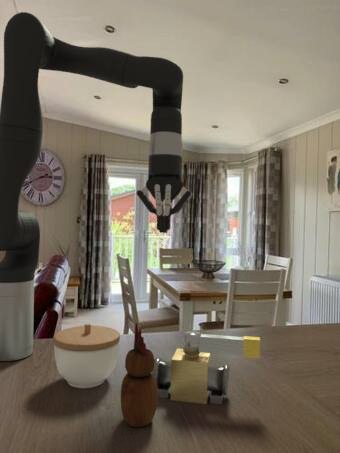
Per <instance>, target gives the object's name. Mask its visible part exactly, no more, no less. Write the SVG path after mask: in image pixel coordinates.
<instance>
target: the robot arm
mask: <svg viewBox="0 0 340 453" xmlns="http://www.w3.org/2000/svg"><path fill="white" fill-rule="evenodd" d="M40 70H44V71H45V70H46V71H55V72H56V71H57V72H62V73H70V74H76V75H80V76H85V77H88V78H93V79H97V80H99V81H103V82H107V83H111V84H113V85H117V86H121V87H124V88H129V89H136V88H138V87H143V88H149V89H152V112H151V115H150V134H149V135H150V136H149V141H148V142H149V143H148V169H147V170H148V173H147V180H146V182H145V186H144V187H143V188H141V189H139V190H137V191H136V196H138V198H139V200H141V202H142V204H143V205H144V206H145V207H146V209H147V210H148V212H149V213H151V214H154V215H156V229H157V231H158V232H159V233H161V234H163V233H164V234H166V233H168V231H170V230H171V219H172V217H171V216H173V215H175V214H179V212H180V211H181V210H182V209H183V207H184V206H186V204H187V202H189V200H190V199H191V197H192V196H193V192H192V191H190V190H188V189H187V188H186V187H185V185H184V182H183V179H182V176H183V174H182V173H183V156H184V155H183V154H184V150H183V137H182V136H183V135H182V131H183V117H182V104H183V102H182V101H183V87H184V86H183V84H184V73H183V70H182V67H180V65H179V64H178V63H177V62H175V61H173V60H171V59H169V58H165V57H159V56H158V57H156V56H147V55H145V56H142V55H135V54H131V53H128V52H125V51H122V50H118V49H114V48H111V47H110V48H108V47H102V46H101V47H100V46H99V47H98V46H97V47H96V46H92V47H91V46H90V47H88V46H79V45H74V44H71V43H67V42H65V41H63V40H60V39H58V38H57V37H55V36H53V35H52V34H51V32H50V31H49V30H48V28H47V27H46V26H45V24H44V23H43V22H42V21H41V20H40V19H39V18H38V17H37V16H36V15H34V14H32V13H31V12H26V11H25V12H24V11H23V12H17V13H16V14H14V15H13V16H11V17H10V19H9V20H8V22H7V23H6V26H5V28H4V32H3V83H2V84H3V85H2V92H1V98H0V100H1V101H0V252H4V253H5V254H4V257H3V259H2V260H1V261H0V362H10V361H17V360H21V359H25V358H28V357H30V356H31V355H33V351H34V348H33V347H34V314H35V311H34V306H35V305H34V304H35V303H34V302H35V273H36V269H37V268H38V266H39V255H40V244H41V228H40V223H39V220H38V219H37V217H36V216H35V214H34V213H32V212H30V211H29V210H21V209H19V205H20V204H19V203H20V196H21V191H22V189H23V185H24V184H25V182H26V180H27V178H28V177H29V175H30V173H31V172H32V171H33V169H34V167H35V165H36V164H37V162H38V161H39V157H40V154H41V149H42V148H41V147H42V142H43V130H44V126H43V125H44V124H43V113H42V106H41V100H40V92H39V73H40ZM179 194H180V197H181V198H180V199H179V200H178V201H177V203H175V205H174V206H173V204H174V200H176V198H177V197H178V195H179ZM150 195H151V196H152V198H153V199H154V201H155V205H154V204H153V202H152V201H151V200H150V198H149V196H150Z"/></svg>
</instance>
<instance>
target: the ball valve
mask: <svg viewBox="0 0 340 453" xmlns="http://www.w3.org/2000/svg"><path fill="white" fill-rule="evenodd" d="M211 355H212V353H203V352H201V353H199V354H195V355H190V354H186V353H184V352H183V348H176V350H175V353H174V354H173V356H172V357H171V360H164V359H163V358H162V357H154V359H155V364H154V369H153V371H152V372H151V373H152V374H153V375H154V377H155V379H156V382H157V398H163V399H165V398H166V399H168V398H169V397H170V401H177V402H183V403H184V402H185V403H192V404H203V405H207V404H208V399H209V394H210V404H216V405H223V399H224V398H223V397H224V396H227V397H228V396H229V393H230V391H229V389H230V364H225V363H224V364H223V365H214V364H213V365H212V364H211V360H212V358H211Z"/></svg>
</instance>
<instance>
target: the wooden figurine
mask: <svg viewBox="0 0 340 453" xmlns="http://www.w3.org/2000/svg"><path fill="white" fill-rule="evenodd" d="M133 341H134V342H133V348H132V349H130V350H129V351H128V352H127V354H126V356H125V362H124V363H125V364H124V367H125V371H126V374H125V375H124V377H123V379H122V380H121V387H120V408H121V414H122V417H123V420H124V421H125V422H126V424H127V425H129V426H131V427H134V428H135V427H136V428H140V427H141V428H142V427H146V426H147V425H149V424H150V423H152V421H153V420H154V417H155V414H156V411H157V406H158V405H157V404H158V397H157V382H156V379H155V377H154V375H153V374H152V371H153V369H154V364H155V355H154V353H153V352H152V350H150V349H148V348H147V345H146V344H147V343H145V341H144V336H142V328H139V326H138V323H137V322H136V323H135V329H134V340H133Z"/></svg>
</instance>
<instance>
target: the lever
mask: <svg viewBox="0 0 340 453" xmlns="http://www.w3.org/2000/svg"><path fill="white" fill-rule="evenodd" d="M182 338H183V342H182V343H183V346H182V349H183V352H184V353H186V354H190V355H195V354H199V353H201V352H203V353H211V354H217V355H227V356H228V355H229V356H239V357H241V356H242V357H243V358H249V359H250V358H251V359H260V358H261V354H260V353H261V337H259V336H252V335H251V336H249V335H243V336H235V335H233V336H232V335H221V334H220V335H219V334H210V333H209V334H207V333H206V334H205V333H201V332H200V331H196V330H188V331H185V332H183V337H182Z"/></svg>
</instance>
